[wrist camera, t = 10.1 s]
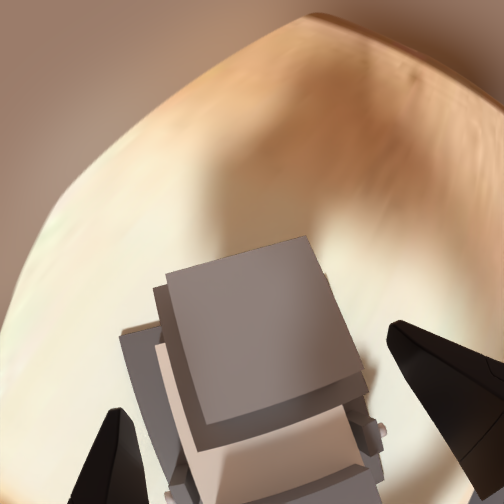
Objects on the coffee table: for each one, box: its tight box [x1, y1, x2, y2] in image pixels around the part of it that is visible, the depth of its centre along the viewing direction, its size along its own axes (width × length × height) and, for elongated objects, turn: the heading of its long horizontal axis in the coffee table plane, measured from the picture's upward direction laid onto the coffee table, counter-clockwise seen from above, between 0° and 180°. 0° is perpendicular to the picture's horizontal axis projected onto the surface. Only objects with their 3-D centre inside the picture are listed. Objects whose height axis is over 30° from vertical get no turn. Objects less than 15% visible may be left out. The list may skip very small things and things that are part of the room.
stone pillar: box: [153, 236, 369, 452], centre depth 13 cm, size 5×5×13 cm
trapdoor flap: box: [155, 343, 382, 504], centre depth 16 cm, size 14×10×3 cm
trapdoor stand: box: [119, 278, 387, 504], centre depth 18 cm, size 17×15×4 cm
